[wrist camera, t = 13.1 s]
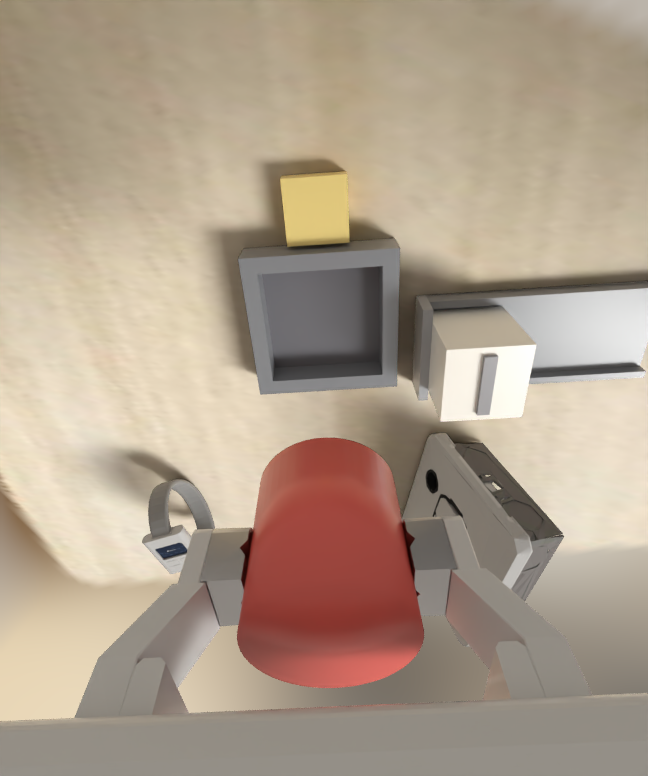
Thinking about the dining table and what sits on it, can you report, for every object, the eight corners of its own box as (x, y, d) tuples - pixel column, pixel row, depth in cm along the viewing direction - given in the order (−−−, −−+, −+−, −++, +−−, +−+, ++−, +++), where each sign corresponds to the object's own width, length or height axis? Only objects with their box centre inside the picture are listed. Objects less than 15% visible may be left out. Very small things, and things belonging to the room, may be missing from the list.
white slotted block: (502, 306, 24) (538, 346, 20) (492, 371, 26) (523, 419, 22) (426, 311, 24) (447, 352, 20) (422, 375, 27) (441, 424, 23)
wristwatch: (231, 518, 33) (218, 579, 29) (197, 527, 34) (180, 588, 30) (188, 458, 30) (167, 516, 26) (152, 469, 31) (126, 528, 27)
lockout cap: (411, 450, 13) (451, 596, 9) (374, 543, 15) (393, 695, 11) (270, 427, 12) (249, 571, 9) (252, 526, 14) (228, 678, 11)
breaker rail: (663, 279, 24) (690, 293, 22) (633, 368, 27) (654, 386, 25) (416, 295, 24) (423, 310, 23) (412, 381, 27) (418, 400, 26)
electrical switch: (428, 425, 29) (487, 546, 21) (503, 428, 30) (586, 546, 22) (396, 525, 34) (435, 653, 26) (462, 525, 35) (517, 650, 27)
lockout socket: (395, 167, 21) (401, 172, 20) (392, 370, 27) (396, 386, 25) (232, 179, 21) (225, 185, 20) (263, 378, 27) (260, 394, 26)
